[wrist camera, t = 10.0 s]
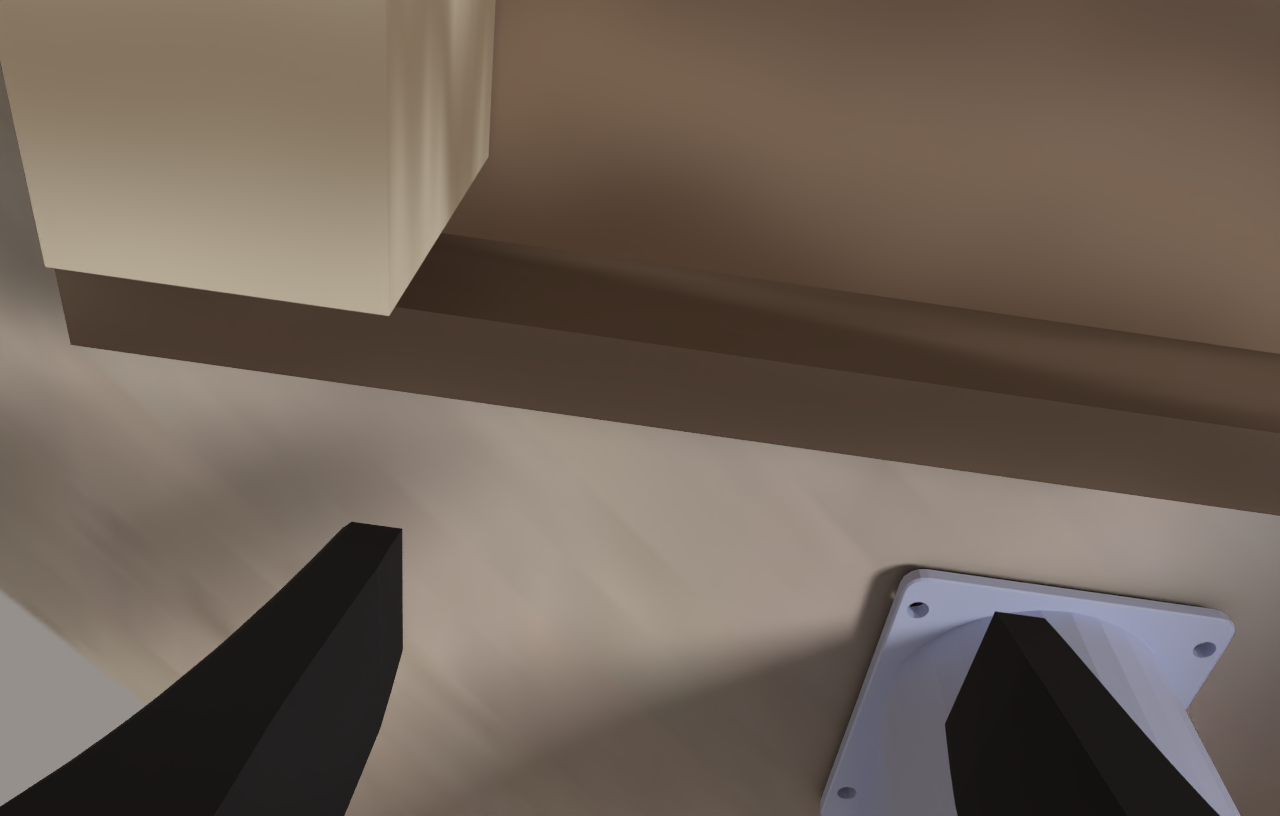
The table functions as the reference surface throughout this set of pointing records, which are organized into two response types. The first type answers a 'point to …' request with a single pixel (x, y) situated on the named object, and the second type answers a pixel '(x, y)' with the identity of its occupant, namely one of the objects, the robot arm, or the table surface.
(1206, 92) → the board
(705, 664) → the table surface
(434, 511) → the table surface
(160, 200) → the beige block with rod
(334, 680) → the robot arm
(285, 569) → the table surface
